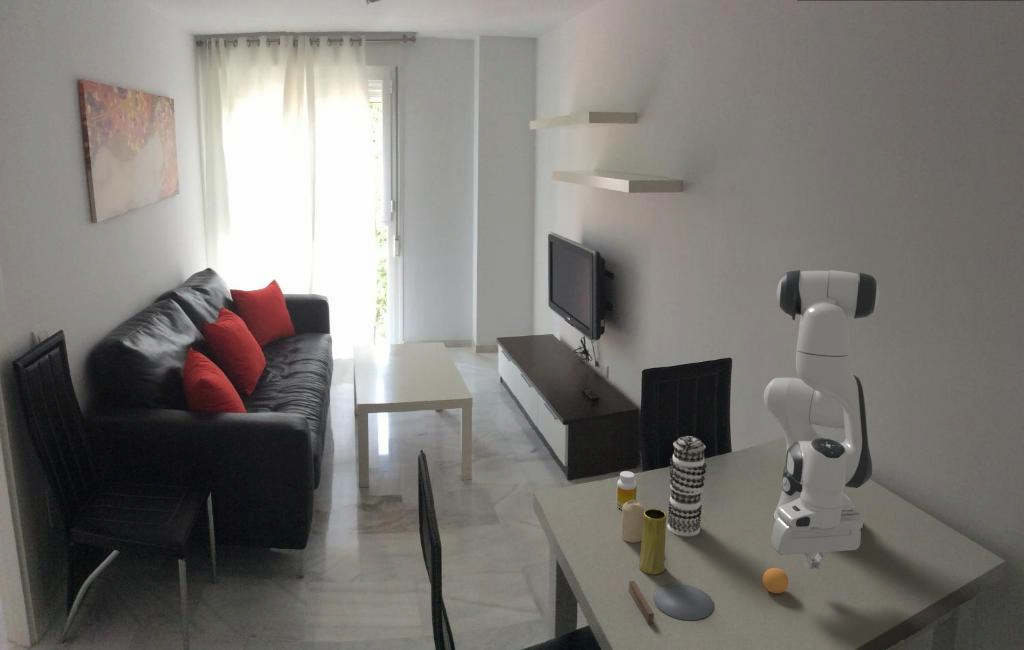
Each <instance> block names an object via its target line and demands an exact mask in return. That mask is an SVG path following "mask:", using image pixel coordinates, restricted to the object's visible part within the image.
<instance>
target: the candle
mask: <svg viewBox="0 0 1024 650" xmlns="http://www.w3.org/2000/svg"><path fill="white" fill-rule="evenodd" d="M621 511H622V512H621V526H620V527H621V529H620V535H621V536H620V537H621V539H622V540H623V541H624V542H627V543H633V544H635V543H639V542H642V532H643V516H644V511H645V505H643V504H642V503H641V502H639V501H638V500H637V499H636V500H629V501H627V502H626V503H625V504H623V506H622V509H621Z"/></svg>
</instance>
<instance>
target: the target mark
mask: <svg viewBox="0 0 1024 650" xmlns="http://www.w3.org/2000/svg"><path fill="white" fill-rule="evenodd" d="M653 601H654V604H655V606H656V607H657V608H658V610H659V611H661V612H662V613H663V614H665V615H667V616H669V617H671V618H674V619H678V620H683V621H698V620H702V619H703V620H704V619H705V618H707V617H709V616H710V615H711V614H712V613H713V611H714V607H715V606H714V601H713V599H712V598H711V596H710V595H709V594H708V593H706V592H705V591H704V590H702V589H700V588H699V587H696V586H693V585H689V584H685V583H684V584H683V583H670V584H666V585H662V586H661V587H659V588H658V589H657V590H656V591H655V592H654V595H653Z"/></svg>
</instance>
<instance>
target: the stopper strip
mask: <svg viewBox="0 0 1024 650" xmlns="http://www.w3.org/2000/svg"><path fill="white" fill-rule="evenodd" d="M628 581H629V580H628ZM628 584H629V585H628V592H629V594H630V596H631V597H632V599H633V602H634V603H635V605H637V608H638V609H639V611H640V613H641V615H642V616H643V618H644V619H645V622H646V623H647V625H654V621H655V613H654V611H653V610H652V607H651V606H650V604H649V602H648V601H647V599H646V597H645V596H644V595H643V593H642V591H641V590H640V588H639V586H638V585H637V582H636V581H635V580H631V581H629V582H628Z"/></svg>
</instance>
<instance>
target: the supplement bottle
mask: <svg viewBox="0 0 1024 650" xmlns="http://www.w3.org/2000/svg"><path fill="white" fill-rule="evenodd" d="M637 486H638V485H637V482H636V480H635V473H634V472H632V471H627V470H625V471H621V472H620V473H619V479H618V480H617V482H616V499H615V501H616V503H615V505H616V507H617V509H619V508H620V510H622V506H623V504H625V503H626V502H627V501H629V500H637V488H638V487H637Z"/></svg>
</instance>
